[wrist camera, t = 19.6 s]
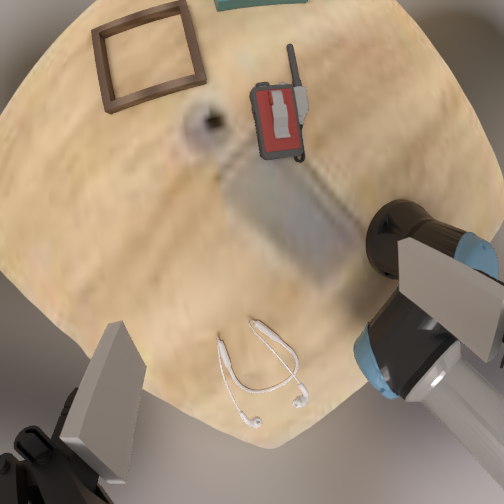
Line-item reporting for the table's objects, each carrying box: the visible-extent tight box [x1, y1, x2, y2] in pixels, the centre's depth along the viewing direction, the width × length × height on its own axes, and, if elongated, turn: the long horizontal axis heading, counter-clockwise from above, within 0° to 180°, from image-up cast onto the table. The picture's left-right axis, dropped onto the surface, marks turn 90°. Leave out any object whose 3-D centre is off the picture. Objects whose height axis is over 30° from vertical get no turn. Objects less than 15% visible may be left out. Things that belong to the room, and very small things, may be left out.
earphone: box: [217, 320, 309, 428], centre depth 53 cm, size 14×17×18 cm
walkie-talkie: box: [250, 44, 309, 162], centre depth 40 cm, size 9×4×20 cm
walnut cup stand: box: [91, 0, 206, 114], centre depth 35 cm, size 15×15×3 cm
